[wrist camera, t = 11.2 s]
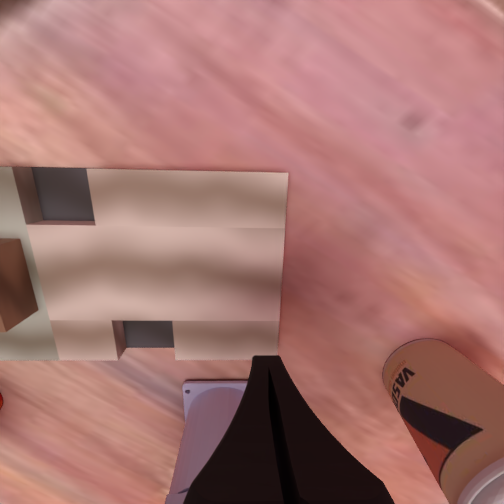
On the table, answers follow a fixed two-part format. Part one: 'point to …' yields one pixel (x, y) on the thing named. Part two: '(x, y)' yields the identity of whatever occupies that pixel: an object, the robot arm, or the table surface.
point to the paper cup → (1, 401)
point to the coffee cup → (451, 418)
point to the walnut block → (14, 285)
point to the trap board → (146, 261)
